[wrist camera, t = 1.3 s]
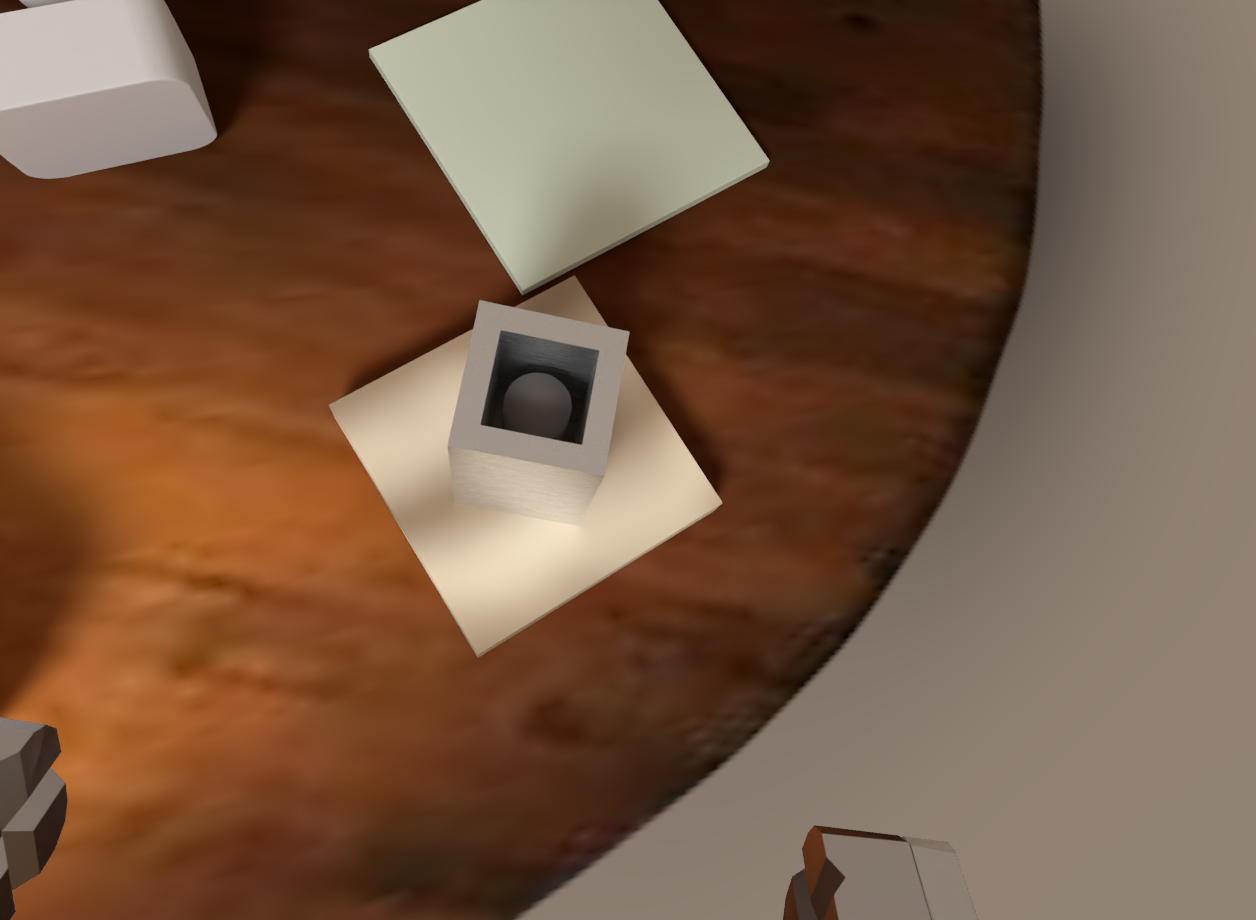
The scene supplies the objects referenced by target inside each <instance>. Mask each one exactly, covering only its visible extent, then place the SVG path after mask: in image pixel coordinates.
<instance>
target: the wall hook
mask: <svg viewBox="0 0 1256 920" xmlns="http://www.w3.org/2000/svg"><path fill="white" fill-rule="evenodd" d="M20 1H21V2H22V3H23V4H24V5H26V6H27V7H29V9H23V10H18V11H12V12H7V13H1V14H0V155H2V156H3V157H4V158H5V159H7V160H8V161H9V162H10V163H12V164H13V165H14V166H16V167H17V168H18V169H20V170H21V171H22V172H23V173H25V174H26V175H28V176H31V177H36V178H45V179H49V178H63V177H69V176H74V175H78V174H83V173H88V172H92V171H97V170H102V169H106V168H111V167H116V166H120V165H125V164H129V163H134V162H139V161H143V160H148V159H153V158H157V157H162V156H167V155H171V154H176V153H180V152H185V151H190V150H194V149H197V148H201V147H203V146H205V145H208V144H209V143H211V142H212V141H214V139H215V138H216V137H217V131H216V127H215V124H214V121H213V118H212V114H211V111H210V108H209V105H208V101H207V98H206V95H205V92H204V89H203V85H202V82H201V79H200V76H199V72H198V69H197V66H196V63H195V60H194V57H193V55H192V53H191V51H190V49H189V47H188V45H187V43H186V41H185V39H184V37H183V35H182V34H181V32H180V30H179V28H178V26H177V24H176V22H175V20H174V18H173V16H172V14H171V12H170V10H169V9H168V7H167V5H166V3H165V1H164V0H20Z"/></svg>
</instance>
